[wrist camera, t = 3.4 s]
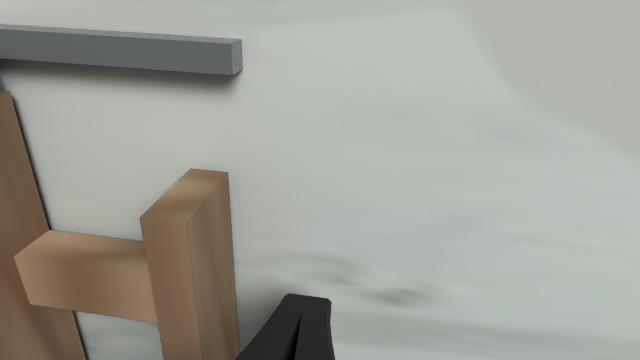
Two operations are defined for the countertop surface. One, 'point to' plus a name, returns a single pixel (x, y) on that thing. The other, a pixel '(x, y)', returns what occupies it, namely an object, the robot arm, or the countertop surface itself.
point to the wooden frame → (115, 267)
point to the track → (122, 49)
